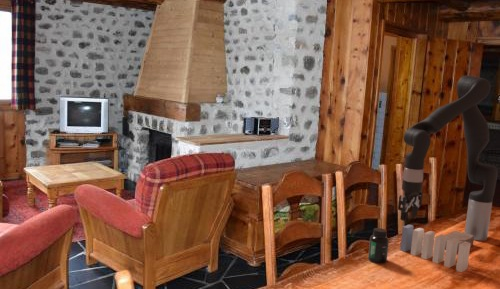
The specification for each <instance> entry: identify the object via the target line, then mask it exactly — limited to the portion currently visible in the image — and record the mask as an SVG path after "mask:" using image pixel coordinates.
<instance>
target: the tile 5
mask: <svg viewBox="0 0 500 289" xmlns="http://www.w3.org/2000/svg"><path fill="white" fill-rule="evenodd" d="M457 246H458V239H455V238H452V239H449V240H447V245H446V250H445V252H444V260H443V267H446V268H447V269H448V268H449V269H450V268H451V267H454V266H455V265H456V263H457V255H458V252H457Z"/></svg>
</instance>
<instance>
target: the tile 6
mask: <svg viewBox="0 0 500 289" xmlns="http://www.w3.org/2000/svg"><path fill="white" fill-rule="evenodd" d="M470 244H471V243H468V242H463V243H461V244H459V250H458V252H457V257H456V264H455V265H456V267H455V271H457V272H459V273H462V272H465V271H466V270H468V266H469V257H470V250H471V246H470Z"/></svg>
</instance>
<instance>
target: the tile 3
mask: <svg viewBox="0 0 500 289" xmlns="http://www.w3.org/2000/svg"><path fill="white" fill-rule="evenodd" d="M435 237H436V232H435V231H432V230H429V231H427V232H424V236H423V244H422V253H421V255H420V257H421V259H423V260H428V259H430V258H433V252H434V244H435Z"/></svg>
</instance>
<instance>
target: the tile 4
mask: <svg viewBox="0 0 500 289" xmlns="http://www.w3.org/2000/svg"><path fill="white" fill-rule="evenodd" d="M445 235H446V234H442V233H441V234H438V235H435V238H434V247H433V255H432V263H434V264H440V263H441V262H444V261H445V253H446V250H445V244H446V236H445Z"/></svg>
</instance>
